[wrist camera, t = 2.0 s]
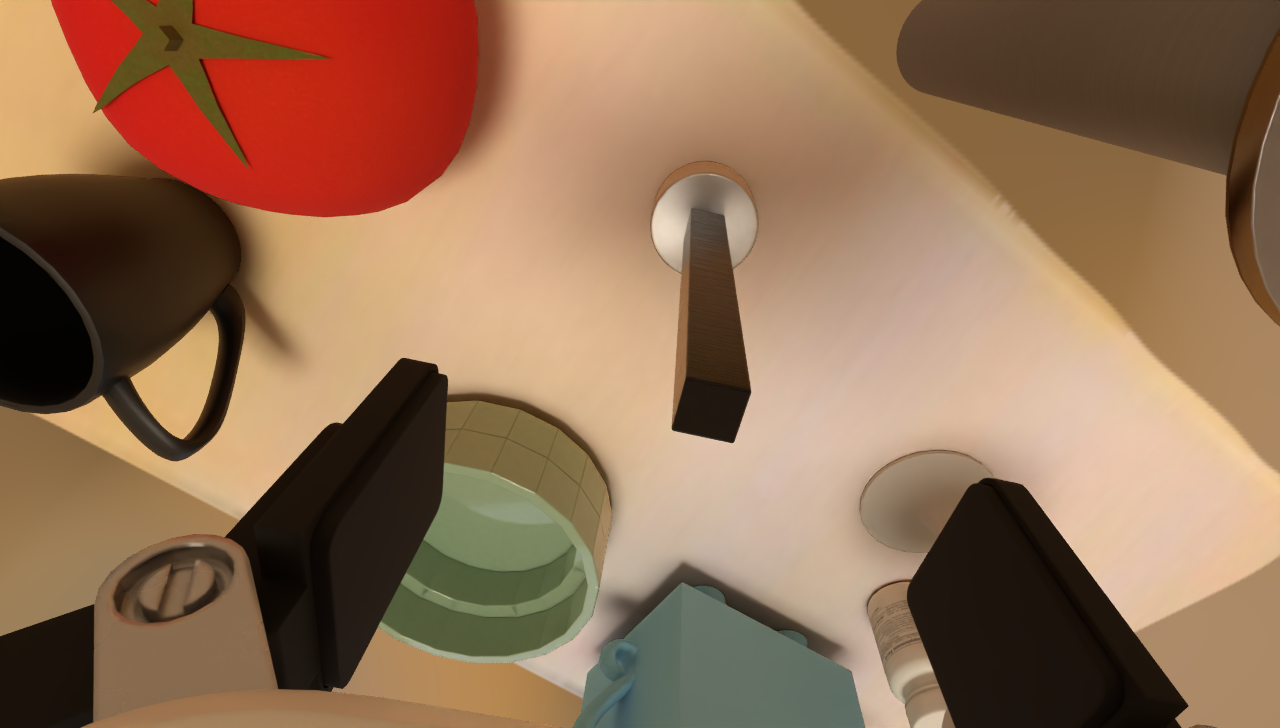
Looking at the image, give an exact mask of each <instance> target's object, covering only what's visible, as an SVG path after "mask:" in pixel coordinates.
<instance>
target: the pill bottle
mask: <svg viewBox="0 0 1280 728" xmlns="http://www.w3.org/2000/svg"><path fill="white" fill-rule="evenodd" d="M909 584H910V582H899V583H895V584H892V585H888V586H886V587H884V588H882V589H881V590H879V591H878V592H877V593H875V594H874V595H873V597H872V598H871V599H870V601H869V604H868V608H867V610H868V616H869V619H870V623H871V626H872V630H873V633H874V637H875V640H876V643H877V647H878V650H879V653H880V657H881V660H882V664H883V667H884V671H885V674H886V677H887V680H888V683H889V686H890V689H891V691H892V693H893V694H894V695H895V697H896V698H897V699H898V700H900V701H901V702H903V703H904V704H905V709H906V715H907V717H908V720H909V723H910V726H911V728H942V722H943V718H944V714H945V711H946V709H947V705H946V703H945V700H944V697H943V695H942V692H941V690H940V687H939V685H938V682H937V679H936V677H935V674H934V672H933V669H932V666H931V664H930V661H929V659H928V656H927V653H926V651H925V648H924V646H923V643H922V641H921V638H920V635H919V633H918V630H917V628H916V625H915V622H914V620H913V617H912V615H911V612H910V609H909V607H908V603H907V589H908V586H909Z"/></svg>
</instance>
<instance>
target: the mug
mask: <svg viewBox="0 0 1280 728" xmlns="http://www.w3.org/2000/svg"><path fill="white" fill-rule="evenodd" d="M240 262H241V248H240V243H239V240H238V236H237V234H236V232H235V230H234V228H233V225H232V224H231V222H230V220H229V219H228V218H227V216H226V215H225V213H224V212H223V211H222V210H221V209H220V208H219V207H218V206H217V205H216V204H215V203H214V202H213V201H212V200H211V199H210V198H209V197H207V196H206V195H204V194H203V193H202V192H200V191H199V190H197V189H195V188H193V187H191V186H189V185H187V184H185V183H181V182H178V181H175V180H171V179H160V178H155V179H146V178H135V177H124V176H110V175H95V174H55V175H36V176H25V177H15V178H7V179H1V180H0V406H3V407H7V408H11V409H14V410H18V411H22V412H30V413H40V414H51V413H60V412H67V411H71V410H74V409H76V408H79V407H81V406H84V405H86V404H88V403H90V402H91V401H93V400H95V399H96V398H98V397H100V396H101V395H103V397H104V398H105V400H106V401H107V403H108V404H109V406H110V407H111V408H112V410H113V411H114V412H115V414H116V415H117V416H118V417H119V419H120V420H121V421H122V422H123V423H124V425H125V426H126V427H127V428H128V429H129V430H130V431H131V432H132V433H133V434H134V435H135V436H136V437H137V439H139V440H140V441H141V442H142V443H143V444H144V445H145V446H146V447H147V448H149V449H150V450H151V451H152V452H154V453H155V454H157V455H159V456H160V457H162V458H165V459H168V460H171V461H180V460H183V459H186V458H188V457H190V456H191V455H193V454H194V453H196V452H198V451H199V450H200V449H201V448H203V447H204V446H205V445H206V444H207V443H208V442H209V441H211V440H212V438H213V437H214V436H215V435H216V434H217V432H218V431H219V429H220V427H221V425H222V423H223V421H224V418H225V416H226V413H227V410H228V407H229V403H230V399H231V395H232V391H233V387H234V383H235V378H236V374H237V369H238V365H239V360H240V355H241V350H242V345H243V339H244V333H245V309H244V305H243V302H242V300H241V298H240V296H239V294H238V293H237V291H236V290H235V289H234V288H233V287H232V286H231V285H230V284H229V283H230V282H231V281H232V280H233V279H234V278H235V276H236V274H237V272H238V271H239V267H240ZM208 310H210V311H211V313H212V314H213V316H214V317H215V320H216V322H217V325H218V331H219V346H218V354H217V360H216V365H215V370H214V375H213V379H212V383H211V387H210V390H209V394H208V397H207V400H206V403H205V406H204V408H203V411H202V413H201V415H200V417H199V419H198V421H197V423H196V425H195V426H194V428H193V429H192V430H191V432H190V433H189V434H188V435H187V436H186V437H185V438H184V439H183V440H182V439H179V438H177V437H175V436H173V435H172V434H170V433H169V432H168V431H167V430H166V429H164V428H163V427H162V426H161V425H160V424H159V422H158V421H157V420H156V419H155V418H154V417H153V415H152V414H151V413H150V411H149V410H148V409H147V407H146V406H145V404H144V403H143V401H142V400H141V398H140V396H139V394H138V393H137V391H136V389H135V387H134V385H133V383H132V381H131V379H130V378H131V377H132V376H134V375H135V374H137V373H138V372H140V371H142V370H143V369H145V368H146V367H148V366H149V365H151V364H152V363H153V362H154V361H156V360H157V359H158V358H159V357H161V356H162V355H163V354H164V353H166V352H167V351H168V350H169V349H170V348H171V347H173V346H174V345H175V344H176V343H177V342H178V341H180V340H181V339H182V338H183V337H184V336H185V335H186V334H187V333H188V332H189V331H190V330H191V329H192V328H193V327H194V326H195V325H196V324H197V323H198V322H199V321H200V320H201V319H202V317H203V316H204V315H205V314H206V313H207V312H208Z"/></svg>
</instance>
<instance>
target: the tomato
mask: <svg viewBox="0 0 1280 728" xmlns="http://www.w3.org/2000/svg"><path fill="white" fill-rule="evenodd" d="M51 2H52V5H53V8H54V10H55V13H56V15H57V18H58V20H59V23H60V26H61V28H62V31H63V33H64V36H65V38H66V41H67V43H68V46H69V48H70V50H71V52H72V54H73V56H74V58H75V61H76V63H77V65H78V67H79V69H80V71H81V74H82V76H83V78H84V80H85V82H86V84H87V86H88V87H89V89H90V91H91V92H92V94H93V96H94V98H95V99H96V101H97V105H96V107H95V109H94V112H96V111H98V110H100V109H102V111H103V113H104V114H105V116H106V117H107V119H108V120H109V121H110V122H111V123H112V125H113V126H114V127H115V128H116V129H117V131H118V132H119V133H120V134H121V135H122V137H123V138H124V139H125V140H126V141H127V143H128V144H129V145H130V146H131V147H133V148H134V149H135V150H136V151H138V152H139V153H140V154H142V155H143V156H144V157H145V158H147V159H148V160H149V161H150V162H152V163H153V164H154V165H155V166H157V167H158V168H160V169H162V170H164V171H165V172H167V173H169V174H170V175H172V176H174V177H176V178H178V179H180V180H182V181H184V182H185V183H187V184H189V185H191V186H193V187H195V188H197V189H199V190H201V191H203V192H205V193H208V194H211V195H214V196H216V197H219V198H222V199H225V200H227V201H230V202H233V203H236V204H240V205H244V206H249V207H253V208H257V209H261V210H266V211H271V212H278V213H284V214H291V215H303V216H316V217H335V216H349V215H360V214H367V213H373V212H379V211H382V210H385V209H387V208H390V207H393V206H396V205H399V204H401V203H404V202H407V201H408V200H410V199H411V198H412V197H414V196H415V195H416V194H418V193H419V192H420V191H422V190H423V189H424V188H426V187H427V186H428V185H429V184H431V183H432V182H434V181H435V180H436V179H438V178H439V177H440V176H442V174H443V173H444V171H445V170H446V168H447V167H448V166H449V164H450V163H451V161H452V160H453V159H454V157H455V156H456V154H457V153H458V151H459V148H460V146H461V143H462V141H463V138H464V136H465V133H466V131H467V128H468V126H469V122H470V118H471V113H472V108H473V102H474V97H475V92H476V87H477V71H478V56H479V53H478V21H477V14H476V9H475V5H474V0H51ZM94 112H93V113H94Z"/></svg>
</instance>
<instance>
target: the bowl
mask: <svg viewBox="0 0 1280 728" xmlns="http://www.w3.org/2000/svg"><path fill="white" fill-rule="evenodd" d="M611 518H612V512H611V507H610V501H609V496H608V491H607V486H606V483H605V482H604V480H603V479H602V477H601V475H600V474H599V472H598V470H597V469H596V467H595V465H594V464H593V462H592V460H591V459H590V457H589V455H588V454H587V453H586V452H585V451H584V450H582V449H581V448H580V447H579V446H578V445H577V444H576V443H574V442H573V441H572V440H571V439H570V438H569V437H568V436H567V435H565V434H564V433H563V432H562V431H561V430H560V429H558V428H557V427H555V426H553V425H551V424H549V423H547V422H545V421H543V420H541V419H539V418H537V417H535V416H533V415H530V414H528V413H526V412H524V411H522V410H519V409H516V408H511V407H506V406H502V405H497V404H492V403H487V402H483V401H477V400H476V401H459V402H447V412H446V433H445V455H444V476H443V494H442V500H441V503H440V507H439V510H438V512H437V514H436V516H435V518H434V520H433V522H432V524H431V526H430V528H429V530H428V531H427V533H426V535H425V537H424V539H423V541H422V543H421V545H420V547H419V549H418V551H417V553H416V554H415V556H414V558H413V560H412V562H411V564H410V566H409V568H408V570H407V572H406V574H405V576H404V578H403V579H402V581H401V583H400V585H399V587H398V589H397V591H396V593H395V595H394V597H393V599H392V601H391V603H390V604H389V606H388V608H387V610H386V612H385V614H384V616H383V618H382V620H381V622H380V624H379V626H378V628H379V629H381V630H383V631H384V632H385V633H387V634H389V635H390V636H392V637H393V638H395V639H397V640H398V641H401V642H403V643H406V644H408V645H411V646H413V647H416V648H418V649H420V650H423V651H425V652H428V653H430V654H434V655H436V656H441V657H446V658H451V659H456V660H461V661H466V662H472V663H473V662H474V663H510V662H516V661H521V660H525V659H529V658H534V657H538V656H542V655H546V654H548V653H550V652H551V651H553V650H555V649H557V648H558V647H560V646H562V645H564V644H566V643H567V642H569V641H571V640H573V639H574V638H575V637H576V635H577V634H578V633H579V632H580V630H581V629H582V628H583V627H584V625H585V624H586V623H587V622H588V621H589V619H590V618H591V617H592V615H593V612H594V608H595V604H596V600H597V595H598V591H599V587H600V581H601V576H602V570H603V564H604V558H605V553H606V547H607V541H608V536H609V530H610V524H611Z"/></svg>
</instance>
